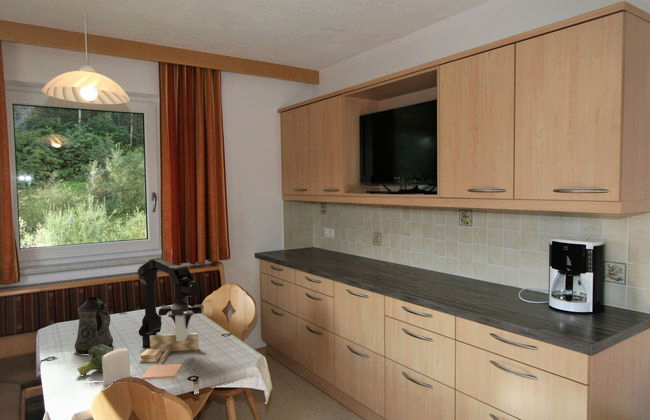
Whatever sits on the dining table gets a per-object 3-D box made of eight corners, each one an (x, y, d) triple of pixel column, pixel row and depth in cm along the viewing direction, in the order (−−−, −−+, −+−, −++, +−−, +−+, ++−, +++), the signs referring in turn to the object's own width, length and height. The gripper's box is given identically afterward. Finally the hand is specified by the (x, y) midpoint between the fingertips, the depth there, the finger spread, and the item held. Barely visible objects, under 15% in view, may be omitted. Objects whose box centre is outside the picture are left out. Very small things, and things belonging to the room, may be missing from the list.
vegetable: (78, 364, 188) (112, 342, 193) (91, 389, 183) (125, 366, 189) (67, 356, 177) (103, 334, 183) (80, 383, 173) (116, 359, 178)
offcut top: (140, 358, 192) (140, 355, 192) (146, 352, 199) (146, 349, 199) (155, 358, 192) (155, 354, 192) (160, 351, 199) (160, 348, 199)
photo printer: (106, 386, 170) (104, 355, 169) (101, 383, 172) (99, 353, 172) (132, 377, 178) (130, 347, 177) (127, 374, 180) (125, 345, 180)
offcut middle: (139, 362, 191) (139, 359, 191) (145, 355, 199) (145, 352, 199) (156, 361, 192) (156, 358, 192) (161, 354, 200) (161, 351, 200)
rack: (140, 364, 190) (139, 346, 190) (151, 352, 205) (150, 335, 204) (191, 362, 192) (191, 344, 191) (198, 349, 206) (198, 333, 206)
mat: (141, 379, 176) (141, 377, 176) (151, 366, 188) (151, 365, 188) (174, 377, 177) (174, 375, 177) (182, 365, 189) (181, 363, 189)
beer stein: (88, 343, 220) (85, 293, 219) (125, 342, 219) (123, 293, 217) (66, 355, 203) (63, 302, 202) (107, 355, 202) (104, 302, 201)
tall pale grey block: (176, 341, 193) (175, 316, 192) (181, 334, 202) (180, 310, 201) (184, 340, 193) (183, 316, 192) (189, 333, 202) (188, 310, 201)
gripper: (153, 300, 188) (155, 335, 188) (198, 297, 189) (199, 333, 190) (161, 293, 199) (163, 327, 200) (203, 291, 200) (204, 325, 201)
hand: (182, 328), depth 197 cm, fingers closed on tall pale grey block, 3 cm apart
